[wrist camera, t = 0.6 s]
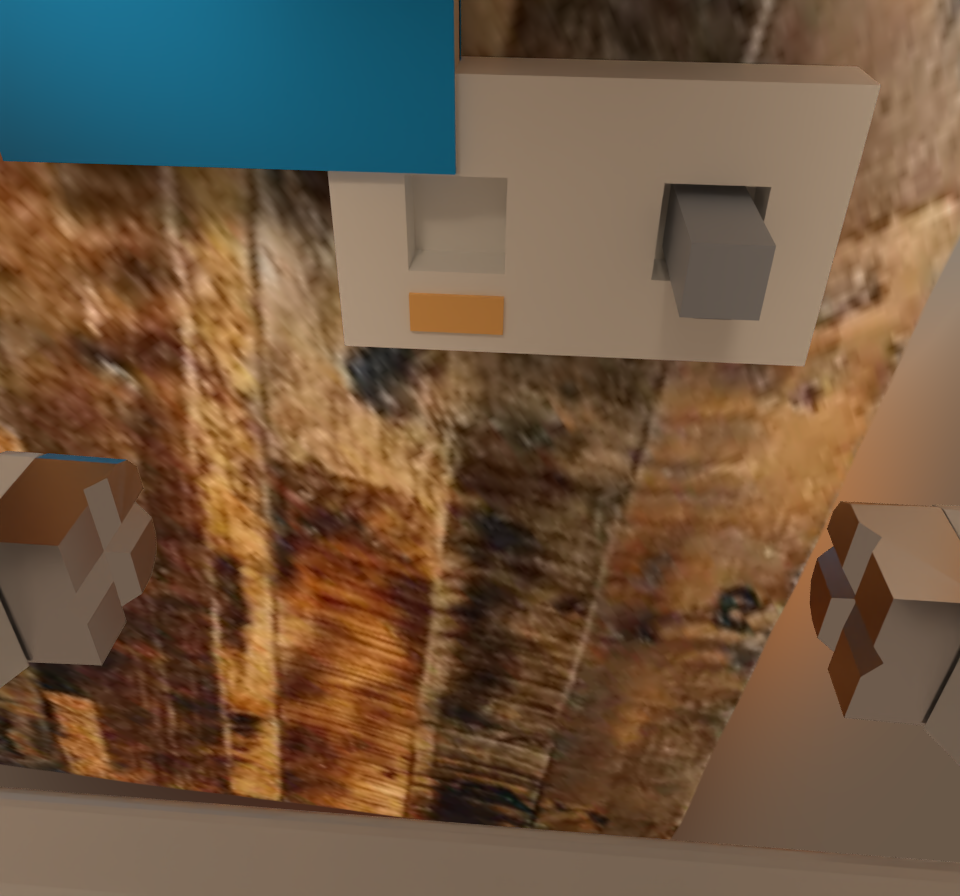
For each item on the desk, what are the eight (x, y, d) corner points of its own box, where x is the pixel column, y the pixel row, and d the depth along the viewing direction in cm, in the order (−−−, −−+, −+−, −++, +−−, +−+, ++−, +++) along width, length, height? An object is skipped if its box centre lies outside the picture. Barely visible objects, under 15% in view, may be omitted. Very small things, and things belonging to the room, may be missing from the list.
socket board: (334, 52, 46) (316, 71, 43) (857, 66, 45) (882, 86, 41) (357, 315, 56) (343, 348, 52) (789, 334, 54) (805, 368, 51)
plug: (671, 179, 48) (691, 242, 41) (743, 182, 48) (776, 245, 41) (660, 259, 51) (677, 331, 44) (727, 261, 51) (755, 334, 44)
